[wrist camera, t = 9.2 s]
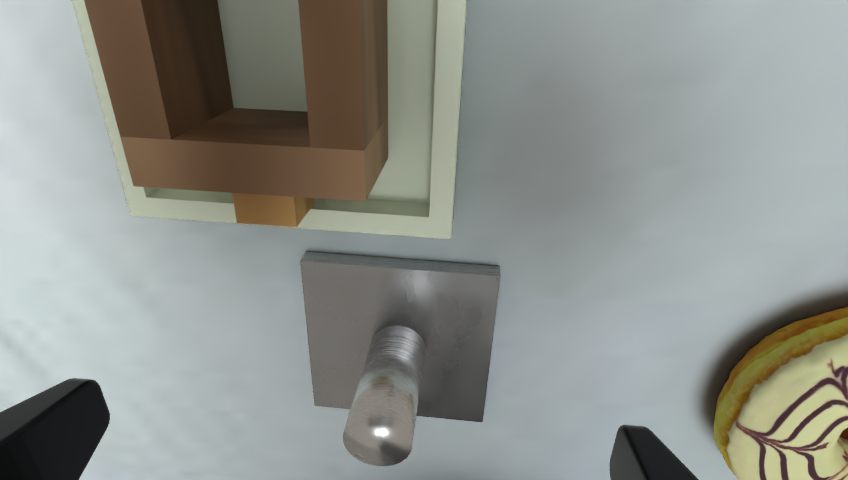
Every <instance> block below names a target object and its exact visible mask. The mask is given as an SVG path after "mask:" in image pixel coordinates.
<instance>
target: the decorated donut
mask: <svg viewBox="0 0 848 480" xmlns="http://www.w3.org/2000/svg"><path fill="white" fill-rule="evenodd" d="M765 337H766V338H764V339H762V340H761V341H760V343H758V344H757V345H755V346H754V347H752V348H751V349H750V350H749V351H747V352H746V354H745V356H744V357H743V358H742V359H741V360H740V361H739V362H738V363H737V364H736V366H735V367H734V368H733V370H731V372H730V375H729V379H728V380H727V382H726V383H725V385H724V387H723V389H722V391H721V393H720V394H719V397H718V401H717V406H716V412H715V421H714V428H713V430H714V438H715V442H716V445H717V446H718V449H719V450H720V452H721V453H722V455H723V457H724V460H725V461H726V463H727V465H728V467H729V468H730V469H731V471H732V472H733V473H734V475H736V477H737V479H738V480H848V307H845V308H840V309H836V310H833V311H829V312H825V313H822V314H819V315H816V316H813V317H809V318H807V319H803V320H798V321H795V322H793V323H792V324H790V325H787V326H785V327H783V328H781V329H778V330H776V331H775V332H773V333H772V334H770V335H768V336H765Z"/></svg>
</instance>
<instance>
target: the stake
mask: <svg viewBox="0 0 848 480" xmlns="http://www.w3.org/2000/svg"><path fill="white" fill-rule="evenodd" d="M300 262H301V273H302V283H303V293H304V303H305V313H306V323H307V333H308V343H309V353H310V363H311V373H312V383H313V393H314V403H315V406H325V407H335V408H345V409H351V410H350V413H349V417H348V420H347V424H346V427H345V430H344V434H343V442H344V445H345V447H346V449H347V450H348V451H349V453H350V454H351V455H353V456H354V457H355V458H357V459H358V460H360V461H362V462H364V463H367V464H371V465H376V466H390V465H394V464H397V463H400V462H402V461H403V460H404V459H406V458H407V457H408V455H409V454H410V452H411V448H412V441H413V434H414V427H415V420H416V416H425V417H435V418H445V419H455V420H465V421H476V422H483V414H484V405H485V397H486V389H487V381H488V373H489V364H490V356H491V348H492V340H493V332H494V323H495V315H496V307H497V299H498V291H499V282H500V267H499V266H491V265H477V264H464V263H451V262H438V261H425V260H412V259H399V258H386V257H373V256H360V255H347V254H334V253H321V252H308V251H306V253H305V255H304V256H303V258H302V259H301V261H300Z"/></svg>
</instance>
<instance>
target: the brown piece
mask: <svg viewBox="0 0 848 480" xmlns="http://www.w3.org/2000/svg"><path fill="white" fill-rule="evenodd" d="M84 2H85V6H86V10H87V13H88V17H89V21H90V25H91V28H92V32H93V36H94V40H95V44H96V47H97V51H98V55H99V59H100V62H101V66H102V70H103V74H104V77H105V81H106V85H107V89H108V93H109V96H110V100H111V104H112V108H113V111H114V115H115V119H116V123H117V127H118V130H119V134H120V138H121V142H122V145H123V149H124V153H125V157H126V160H127V164H128V168H129V172H130V176H131V179H132V183H133V186H136V187H151V188H167V189H182V190H197V191H213V192H228V193H232V197H233V203H234V209H235V215H236V221H237V223H244V224H258V225H272V226H287V227H297V226H298V225H299V224H300V222H301V221H302V220H303V218H304V217H305V216H306V214H307V213H308V212H309V210H310V209H311V208H312V206H313V205H314V204H315V198H320V199H335V200H351V201H366V200H367V198H368V196H369V194H370V192H371V190H372V188H373V186H374V185H375V183H376V181H377V179H378V177H379V175H380V173H381V171H382V169H383V167H384V165H385V163H386V161H387V159H388V24H387V0H298V4H299V16H300V28H301V40H302V52H303V64H304V77H305V89H306V101H307V112H304V111H285V110H266V109H247V108H234V106H233V100H232V93H231V87H230V80H229V73H228V67H227V60H226V54H225V47H224V40H223V34H222V27H221V20H220V14H219V7H218V1H217V0H84Z"/></svg>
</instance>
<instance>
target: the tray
mask: <svg viewBox="0 0 848 480" xmlns="http://www.w3.org/2000/svg"><path fill="white" fill-rule="evenodd" d="M217 1H218V7H219V14H220V20H221V27H222V34H223V40H224V47H225V54H226V60H227V67H228V73H229V80H230V87H231V93H232V100H233V106H234V108H247V109H266V110H285V111H304V112H307V101H306V89H305V77H304V64H303V52H302V40H301V28H300V16H299V4H298V0H217ZM72 2H73V6H74V9H75V13H76V17H77V20H78V24H79V28H80V32H81V35H82V39H83V43H84V46H85V50H86V54H87V57H88V61H89V65H90V68H91V72H92V76H93V79H94V83H95V87H96V90H97V94H98V98H99V101H100V105H101V109H102V112H103V116H104V120H105V123H106V127H107V131H108V134H109V138H110V142H111V145H112V149H113V153H114V156H115V160H116V164H117V167H118V171H119V175H120V178H121V182H122V186H123V189H124V193H125V197H126V200H127V204H128V208H129V211H130V215H131V216H139V217H153V218H166V219H180V220H194V221H207V222H221V223H235V224H244V223H237V221H236V215H235V209H234V203H233V197H232V193H228V192H213V191H197V190H182V189H167V188H151V187H136V186H133V183H132V179H131V176H130V172H129V168H128V164H127V160H126V157H125V153H124V149H123V145H122V142H121V138H120V134H119V130H118V127H117V123H116V119H115V115H114V111H113V108H112V104H111V100H110V96H109V93H108V89H107V85H106V81H105V77H104V74H103V70H102V66H101V62H100V59H99V55H98V51H97V47H96V44H95V40H94V36H93V32H92V28H91V25H90V21H89V17H88V13H87V10H86V6H85V2H84V0H72ZM466 11H467V0H387V24H388V159H387V161H386V163H385V165H384V167H383V169H382V171H381V173H380V175H379V177H378V179H377V181H376V183H375V185H374V186H373V188H372V190H371V192H370V194H369V196H368V198H367V200H366V201H351V200H335V199H320V198H315V204H314V205H313V206H312V208H311V209H310V210H309V212H308V213H307V214H306V216H305V217H304V218H303V220H302V221H301V222H300V224H299V225H298V226H297V227H289V228H303V229H317V230H330V231H344V232H358V233H371V234H385V235H399V236H412V237H426V238H440V239H451V232H452V223H453V211H454V196H455V180H456V165H457V150H458V134H459V119H460V103H461V88H462V73H463V57H464V42H465V27H466ZM248 225H258V224H248ZM262 226H272V225H262ZM276 227H287V226H276Z"/></svg>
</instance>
